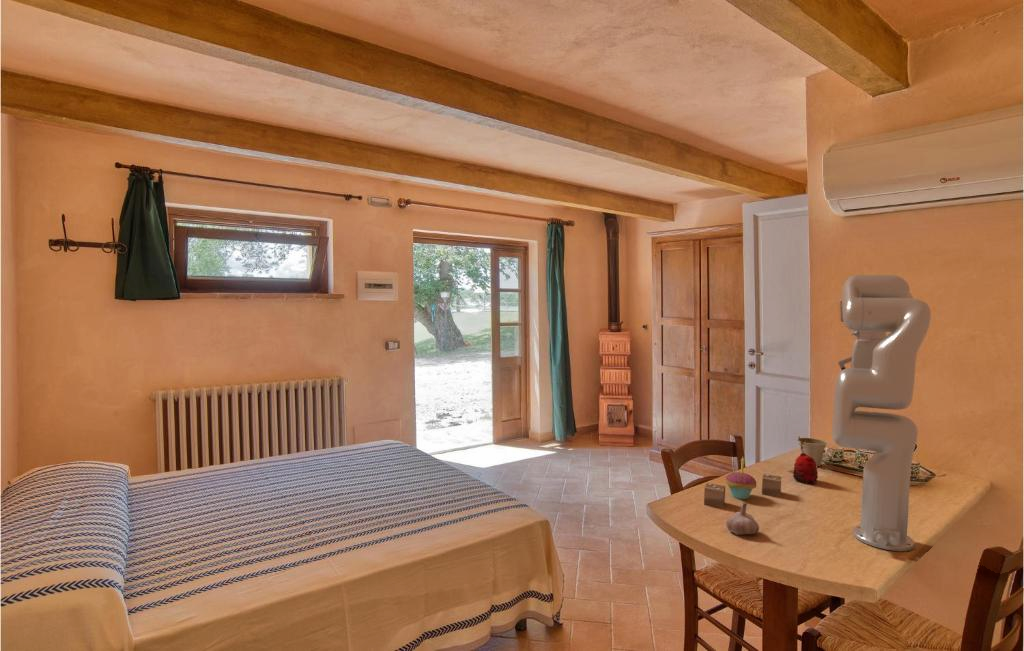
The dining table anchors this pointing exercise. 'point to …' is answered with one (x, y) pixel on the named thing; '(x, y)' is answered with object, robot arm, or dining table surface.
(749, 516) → the garlic bulb
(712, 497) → the three dot block
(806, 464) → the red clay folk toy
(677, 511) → the dining table surface
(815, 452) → the flower pot
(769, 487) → the two dot block
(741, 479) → the cupcake
